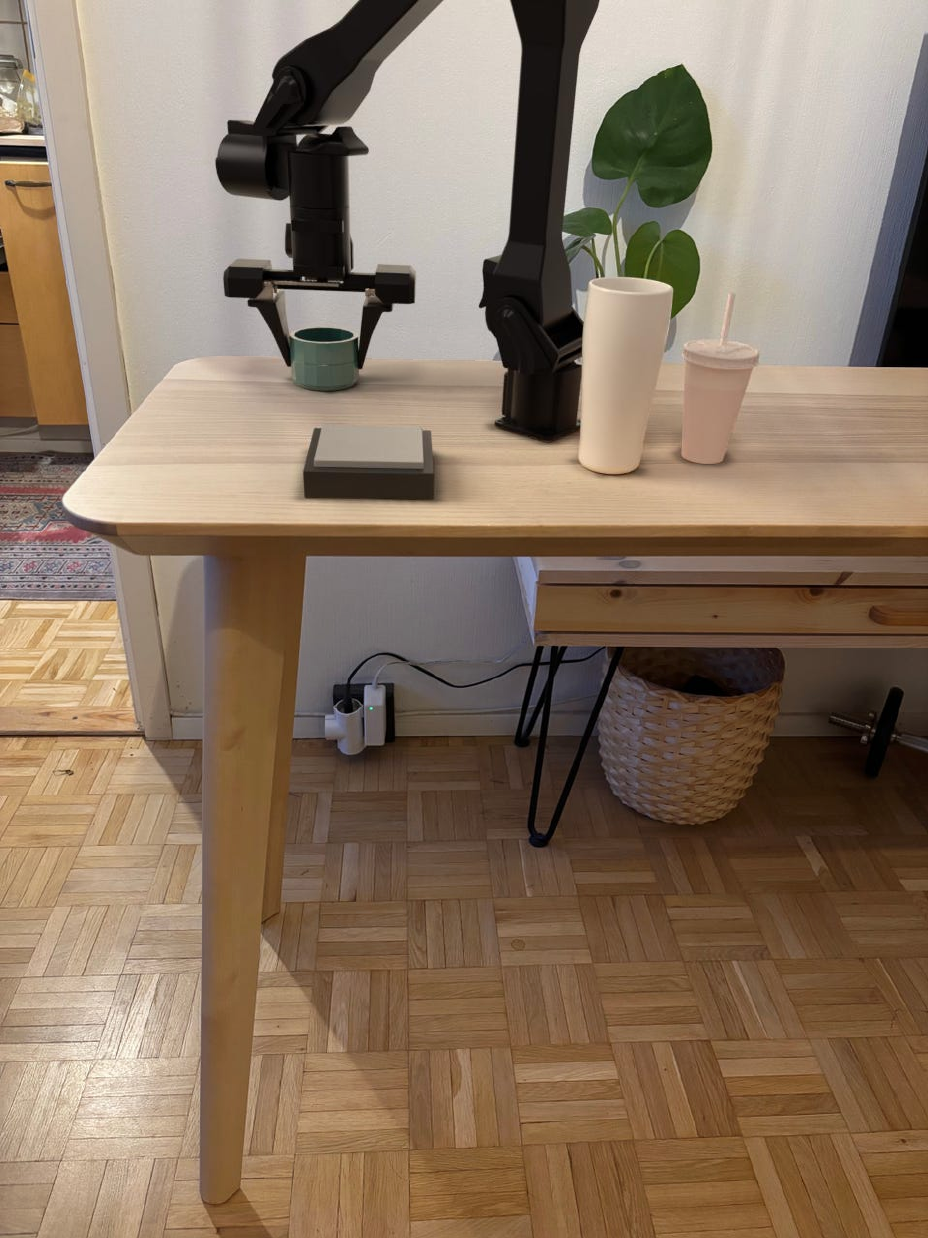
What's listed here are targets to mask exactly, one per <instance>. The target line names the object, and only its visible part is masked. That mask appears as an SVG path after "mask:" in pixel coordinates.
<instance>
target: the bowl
mask: <svg viewBox="0 0 928 1238" xmlns="http://www.w3.org/2000/svg"><path fill="white" fill-rule="evenodd" d="M289 338H290V357H291V367H290V371H291V373H290V374H291V379H292V380H293V381H294V382H296V384H297V385H298V386H299V387H301V388H303V389H307V390H312V391H319V392H331V391H342V390H345V389H349V388H351V387H353V386H354V385H355V383H356V381H358V380H359V379H360V369H358V350H359V333H357V332H356V331H354V330H353V329H349V328H345V327H338V326H337V327H336V326H307V327H302V328H297V329H295V330H292V331H291V332H290V331H289Z"/></svg>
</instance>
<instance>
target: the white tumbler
mask: <svg viewBox="0 0 928 1238" xmlns="http://www.w3.org/2000/svg"><path fill="white" fill-rule="evenodd" d="M587 287H588V288H587V292H586V298H585V307H584V314H583V322H584V324H583V338H582V357H581V365H582V378H581V387H580V429H579V442H578V451H577V457H578V461H579V463H580V464H581V466H583V467H584V468H586V469H588V470H590V471H592V472H595V473H599V474H606V475H621V474H622V475H623V474H627V473H630V472H633V471H635V470H636V469H637V468H638V467H639V465H640V464H641V458H642V452H643V445H644V440H645V435H646V432H647V431H646V430H647V428H648V427H647V426H648V423H649V419H650V413H651V409H652V405H653V401H654V396H655V392H656V388H657V384H658V379H659V376H660V371H661V367H662V363H663V359H664V354H665V350H666V346H667V342H668V341H667V340H668V334H669V328H670V324H671V323H670V322H671V316H672V315H671V313H672V305H673V297H674V296H673V295H674V288H673V286H671V285H670V284H668V283H666V282H662V281H658V280H654V279H649V278H641V277H631V276H630V277H629V276H606V277H605V276H603V277H599V278H593V279H592V280H590V281H589V282H588V286H587Z"/></svg>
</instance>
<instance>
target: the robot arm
mask: <svg viewBox="0 0 928 1238" xmlns="http://www.w3.org/2000/svg"><path fill="white" fill-rule="evenodd" d="M442 2H444V0H357V2H356V3H355V4H354V5H353V6H352V7H351V8H350V9H349V10H348V11H347V13H345V15H344V16H343V17H342V18H341V19H340V20H338V22H336V23H335V24H333V25H332V26H331V27H329V28H327V29H325V30H322V31H320V32H318V33H316V34H314V35H312V36H309V37H307V38H305V39H304V40H303V41H301V42H300V43H298V44H297V45H296V46H294V47H293V48H292V49H290V50H288V52H286V53H285V54H283V55H282V56H281V57H280V58H279V59H278V60H277V62H276V63H275V65H274V67H273V70H272V73H271V78H272V84H271V86H270V88H269V90H268V92H267V95H266V97H265V99H264V100H263V103H262V105H261V107H260V110H259V111H258V113H257V116H256V118H255V119H254V121H252V120H249V119H228V120H227V122H226V126H227V134H226V135H225V136H224V137H223V138H222V140H221V141H220V143H219V146H218V150H217V155H216V157H215V160H214V161H215V163H214V164H215V171H216V176H217V179H218V181H219V183H220V185H221V187H222V189H224V190H225V191H226V192H227V193H228V194H230V195H232V196H237V197H245V198H252V199H253V198H255V199H261V200H262V199H263V200H272V201H284V200H286V199H288V198H289V217H290V222H286V223H285V230H284V231H285V232H284V252H285V254H286V256H287V257H288V258H289V259H292V269H280V268H279V269H278V268H277V269H276V268H273V265H272V261H271V259H255V258H254V259H252V258H236V259H235V260H234V261H233V262H231V264H229V265H228V266H227V268H226V269H225V270H224V271H223V277H222V281H223V293H224V294H223V295H224V297H226V298H229V299H230V298H233V299H234V298H235V299H248V300H247V301H246V302H247V303H246V304H247V307H249V308H255V309H257V310H258V312H259V313H260V316H261V317H262V318H263V320H264V322H265V324H266V325H267V327H268V329H269V331H270V332H271V334H272V336H273V338H274V341H275V343H276V345H277V347H278V349H279V352H280V354H281V356H282V358H283V361H284V363H285V365H286V367H288V368H291V357H290V338H289V336H290V331H289V330H290V329H289V324H288V317H287V311H286V291H285V290H292V291H293V290H294V291H318V292H319V291H320V292H321V291H322V292H343V293H347V292H348V293H365V294H364V296H365V299H364V301H363V305H362V310H361V320H360V331H359V339H358V369H359V370H363V368H364V364H365V361H366V357H367V354H368V350H369V347H370V344H371V340H372V338H373V334H374V332H375V330H376V327H377V326H378V323H379V321H380V319H381V316H382V314H383V313H391V312H393V310H394V305H413V304H415V303H416V297H417V296H416V295H417V271H416V270H415V268H414V267H413V266H412V265H406V264H385V263H384V264H383V263H382V264H381V263H378V264H377V266H376V269H375V272H355V271H353V270H354V268H355V262H354V260H355V257H354V256H355V255H354V254H355V253H354V242H353V239H352V235H351V216H350V215H351V214H350V211H351V209H350V162H349V161H350V160H349V157H355V156H356V157H357V156H368V154H369V152H370V148H369V147H368V145H366V144H365V142H364V141H363V140H362V139H361V138H360V137H358V136H357V134H356V133H355V131H354V129H353V127H352V126H348V125H345V126H340V125H344V124H345V123H347V122H349V121H350V120H351V119H352V118H353V116H354V115H355V114H356V112H357V111H358V109H359V107H360V106H361V105H362V103H363V102H364V100H365V99H366V97H368V94H369V93H370V92H371V90H372V85H373V83H374V79H375V76H376V73H377V71H378V70H379V68H380V67H381V65H382V64H383V63H384V61H385V60H387V58H388V57H389V56H390V55H391V54H392V53H393V52H394V51H395V50H396V49H397V48H399V46H400V45H401V44H402V43H403V42H404V41H405V40H406V39H407V38H408V37H409V36H410V35H411V34H412V33H413V32H414V31H415V30H416V29H417V28H418V27H419V26H420V25H421V24H422V23H423V22H424V21H425V20H426V19H427V18H428V17H429V16H430V15H431V14H432V13H433V11H434V10H436V8H438V7H439V6H440V5H441V4H442ZM509 3H510V6H511V10H512V14H513V18H514V21H515V25H516V28H517V32H518V36H519V40H520V50H521V52H520V54H521V55H520V66H519V68H520V69H519V83H518V96H517V110H516V124H515V125H516V126H515V141H514V154H513V166H512V167H513V169H512V181H511V182H512V183H511V198H510V209H509V210H510V213H509V225H508V226H509V227H508V237H507V240H506V242H505V246H504V247H503V250H502V252H501V254H499V255H495V256H492V257H489V258H485V259H484V260H483V262H482V268H481V269H482V270H481V271H482V272H481V273H482V282H483V288H482V289H483V290H482V296H481V299H480V301H479V304H478V308H479V309H483V308H484V309H485V310H484V320H485V324H486V328H487V330H488V331H489V332H490V333H491V334H492V335H493V337H494V338H495V341H496V344H497V349H498V353H499V356H500V360H501V364H502V367H503V368H504V369H507V371H505V372H504V373H503V382H502V383H503V385H502V398H501V399H502V400H501V401H502V402H501V415H502V417H500V418H497V419H495V420H494V426H495V427H497V428H500V429H504V430H507V431H511V432H514V433H517V434H520V435H524V436H527V437H530V438H533V439H537V440H541V441H544V442H552V441H554V440H557V439H560V438H562V437H564V436H566V435H568V434H571V433H574V432H576V431H577V430H580V420H581V418H580V419H579V418H578V416H579V407H580V397H581V378H582V364H579V363H577V362H576V361H577V360H578V359H580V358H582V338H583V324H584V320H583V319H582V318H581V317H580V315H579V313H578V312H577V311H576V309H575V308H574V307H573V289H572V287H573V286H572V271H571V267H570V264H569V260H568V257H567V253H566V249H565V245H564V241H563V228H564V219H565V218H564V217H565V208H566V207H565V206H566V197H567V188H568V187H567V186H568V178H569V165H570V155H571V147H572V135H573V125H574V114H575V103H576V96H577V95H576V94H577V84H578V73H579V65H580V62H579V61H580V54H581V50H582V46H583V44H584V41H585V39H586V37H587V35H588V32H589V30H590V28H591V25H592V22H593V20H594V18H595V16H596V14H597V11H598V8H599V4H600V0H509ZM330 126H336V127H335V129H334V130H333V131H332V133H323V132H324V131H325V130H327V128H329V127H330ZM297 136H303V137H302V138H301V139H300V141H299V142H298V141H297ZM303 278H304V279H303Z"/></svg>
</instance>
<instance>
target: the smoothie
mask: <svg viewBox="0 0 928 1238" xmlns="http://www.w3.org/2000/svg"><path fill="white" fill-rule="evenodd" d="M735 298H736V293H735V292H728V294H727V301H726V306H725V312H724V318H723V322H722V328H721V334H720V339H718V338H717V339H716V338H699V339H692V340H689V341H686V342H685V343H684V345H683V349H682V353H681V358H683V360H684V377H683V379H684V381H683V403H682V404H683V405H682V406H683V407H682V430H681V431H682V433H681V453H680V454H681V457H682V458H683V459H684V460H687V461H688V462H692V463H696V464H700V465H701V464H702V465H716V464H720V463H722V462H723V461H724V460H725V459H724V458H725V455H726V452H727V449H728V447H729V443H730V440H731V437H732V435H733V431H734V428H735V424H736V422H737V418H738V415H739V412H740V409H741V406H742V403H743V401H744V397H745V395H746V393H747V389H748V386H749V383H750V379H751V376H752V373H753V370H754V368H756V367H758V365H759V358H760V354H761V353H760V350H759V349H758V348H757V347H754V346H753V345H751V344H748V343H747V344H746V343H743V342H739V341H733V340H728V337H729V332H730V326H731V321H732V315H733V311H734V305H735V300H736V299H735Z"/></svg>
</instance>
